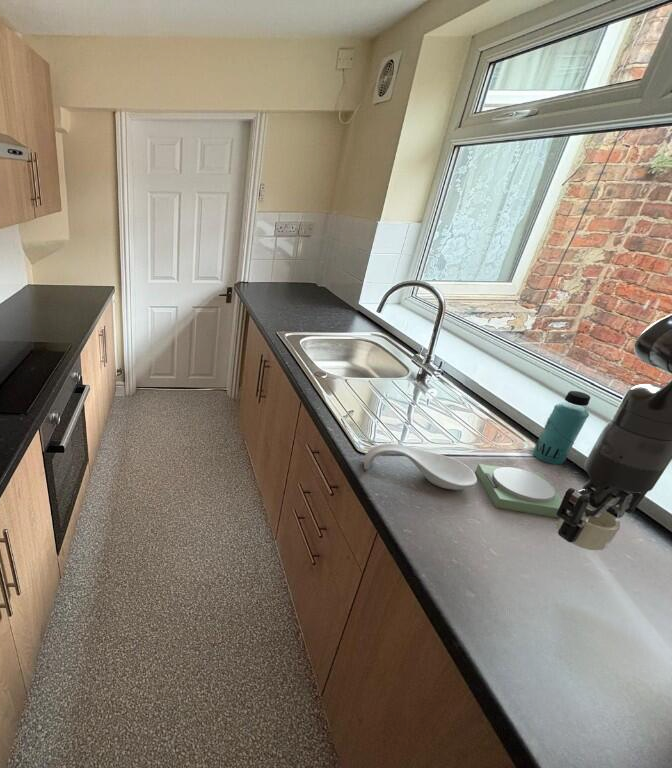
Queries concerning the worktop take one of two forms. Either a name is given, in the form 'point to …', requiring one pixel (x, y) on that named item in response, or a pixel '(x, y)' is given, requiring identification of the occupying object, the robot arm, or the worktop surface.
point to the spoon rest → (429, 465)
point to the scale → (519, 490)
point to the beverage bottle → (562, 428)
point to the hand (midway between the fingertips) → (582, 534)
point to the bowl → (596, 531)
